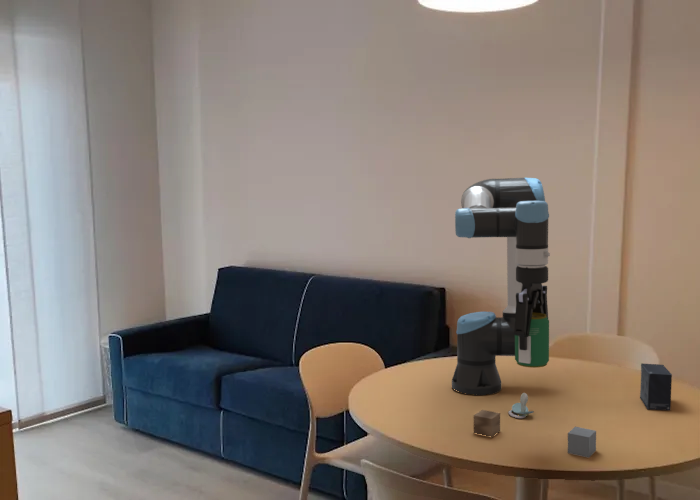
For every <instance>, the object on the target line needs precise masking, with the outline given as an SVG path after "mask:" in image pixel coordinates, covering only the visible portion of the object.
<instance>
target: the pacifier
mask: <svg viewBox="0 0 700 500" xmlns="http://www.w3.org/2000/svg"><path fill="white" fill-rule="evenodd" d="M528 400H529V396H528V394H527V393H525V392H522V394H521V395H520V399H519V402H515V403H514V404H513V405H512V406H511V409H510V410H509V411H508V412H507V413H508V415H509V416H511V417H512V418H514V417H515V419H524V418H527V417H528V415H529V414H533V413H534V411H533V410H531V411H530V410H529V408H528V406H527V403H528ZM512 412H513V413H512ZM517 414H518V415H519V416H518V415H517ZM526 416H527V417H526Z"/></svg>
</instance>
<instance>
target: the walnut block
mask: <svg viewBox="0 0 700 500" xmlns="http://www.w3.org/2000/svg"><path fill="white" fill-rule="evenodd" d="M499 431H500V432H501V413H499V412H495V411H491V410H486V409H481V410H480V411H478V412H476V413H475V414H473V434H474V433H477V434H482V435H486V436H491V437H492V436H494V435H495V434H496V433H498V432H499ZM500 432H499V433H500ZM499 433H498V434H499ZM496 435H497V434H496ZM496 435H495V436H496ZM495 436H494V437H495ZM492 438H493V437H492Z"/></svg>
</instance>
